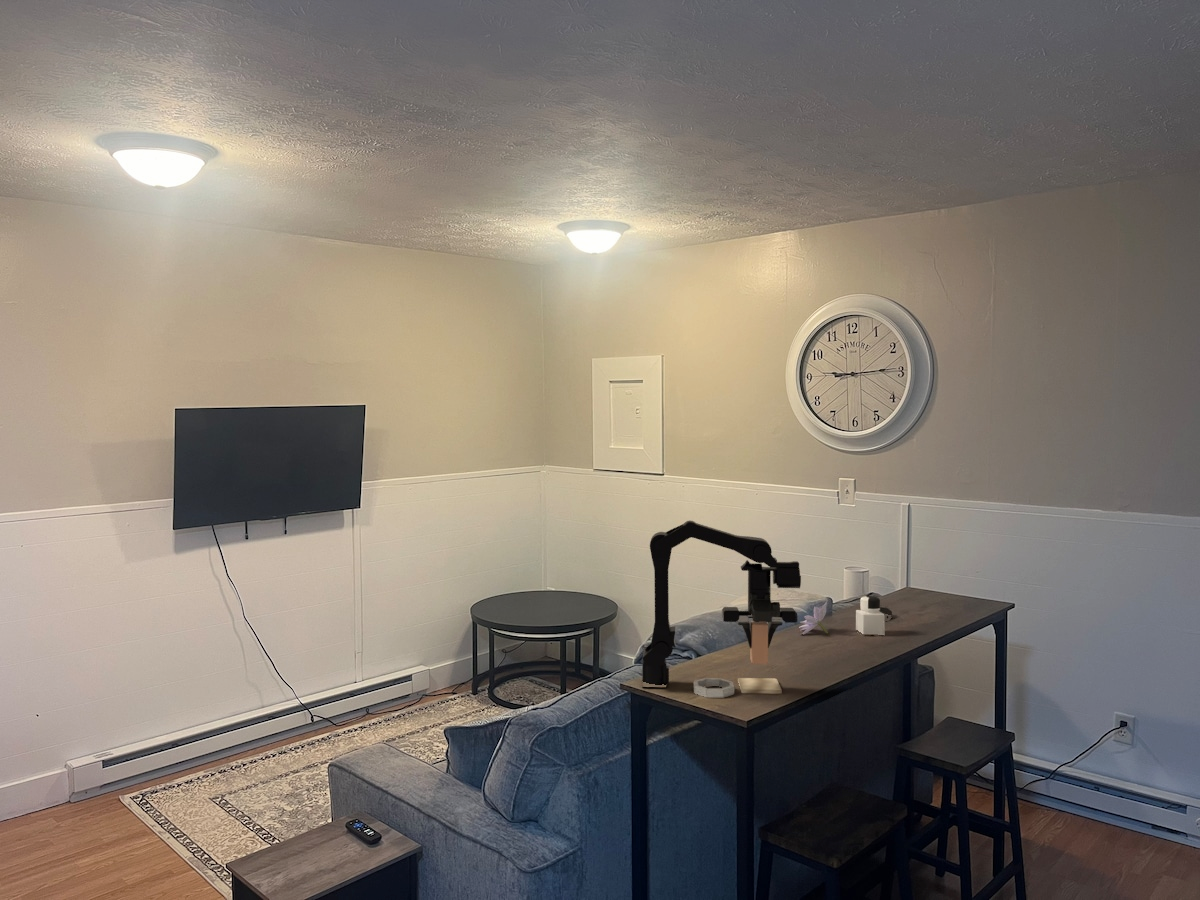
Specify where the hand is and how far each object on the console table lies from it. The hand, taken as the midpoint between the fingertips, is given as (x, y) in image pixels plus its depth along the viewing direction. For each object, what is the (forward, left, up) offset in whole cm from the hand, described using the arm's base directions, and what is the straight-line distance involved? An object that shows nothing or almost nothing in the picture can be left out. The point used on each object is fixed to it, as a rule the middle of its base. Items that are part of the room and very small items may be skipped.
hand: (759, 647), depth 228 cm
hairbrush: (+48, +79, -11) cm, 93 cm away
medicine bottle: (+43, +61, -11) cm, 75 cm away
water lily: (+25, +62, -11) cm, 68 cm away
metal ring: (-12, -4, -10) cm, 16 cm away
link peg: (0, 0, -4) cm, 4 cm away
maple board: (0, 0, -10) cm, 10 cm away
